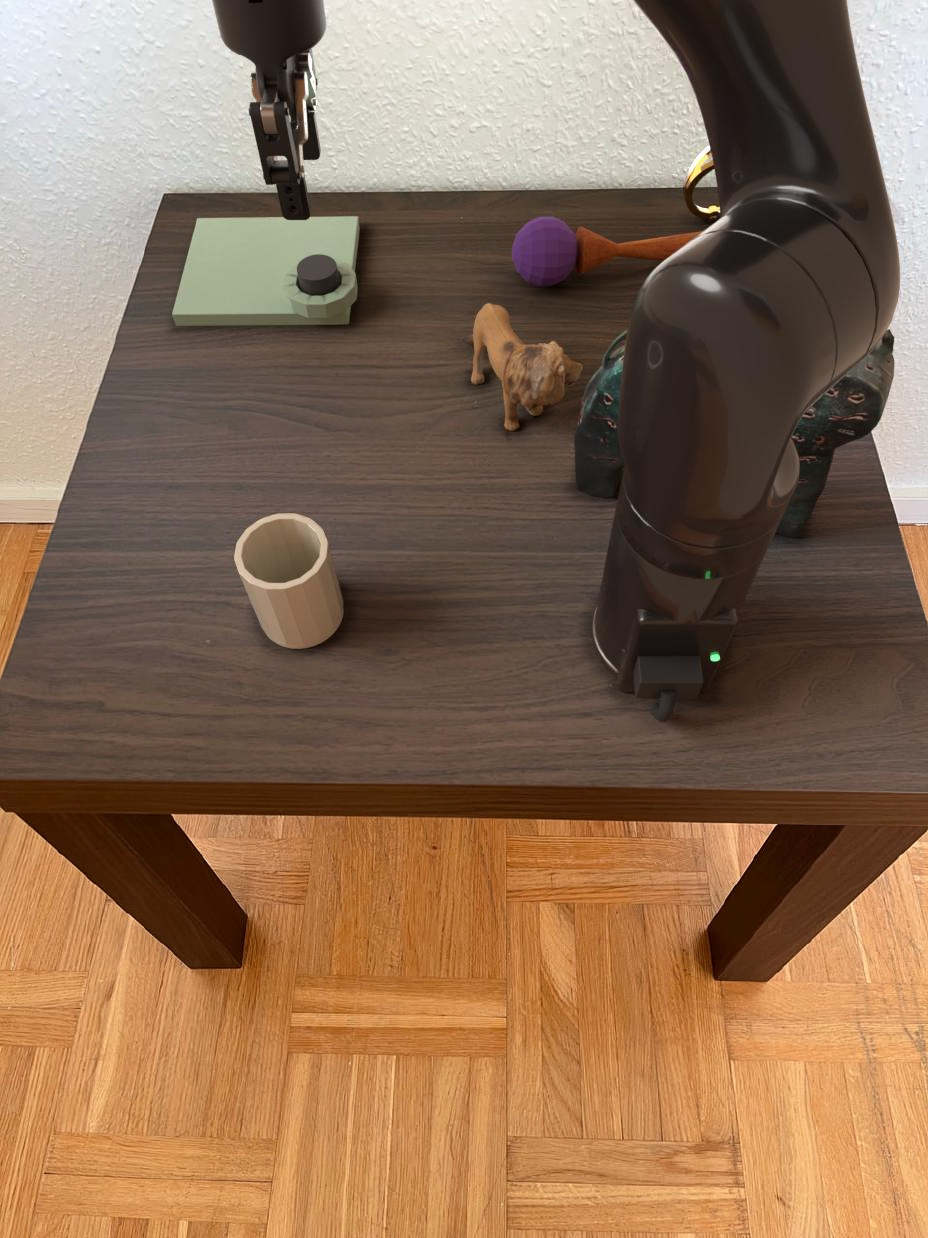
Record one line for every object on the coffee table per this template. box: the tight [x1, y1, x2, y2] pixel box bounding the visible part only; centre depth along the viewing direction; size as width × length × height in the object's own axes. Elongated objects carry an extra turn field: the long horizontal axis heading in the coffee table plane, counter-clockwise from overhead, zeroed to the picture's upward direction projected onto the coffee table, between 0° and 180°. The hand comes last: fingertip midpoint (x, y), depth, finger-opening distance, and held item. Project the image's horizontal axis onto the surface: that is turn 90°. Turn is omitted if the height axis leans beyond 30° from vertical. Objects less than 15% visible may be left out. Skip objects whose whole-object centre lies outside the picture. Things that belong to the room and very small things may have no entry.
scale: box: [171, 215, 361, 327], centre depth 86 cm, size 15×17×3 cm
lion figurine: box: [460, 302, 584, 432], centre depth 75 cm, size 15×5×9 cm, turn 33°
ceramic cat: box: [573, 328, 895, 539], centre depth 63 cm, size 20×6×20 cm, turn 73°
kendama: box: [511, 215, 704, 288], centre depth 84 cm, size 6×6×20 cm
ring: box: [682, 145, 720, 222], centre depth 87 cm, size 7×3×8 cm, turn 97°
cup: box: [233, 512, 345, 650], centre depth 64 cm, size 6×6×8 cm
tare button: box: [297, 254, 339, 296], centre depth 82 cm, size 4×4×2 cm
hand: (303, 186), depth 75 cm, fingers open, 7 cm apart
